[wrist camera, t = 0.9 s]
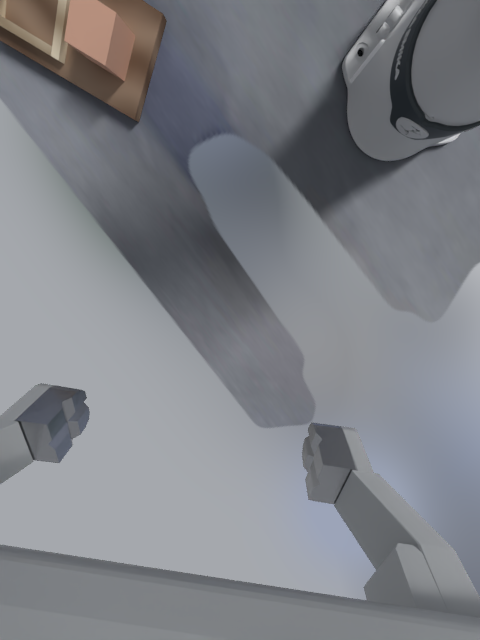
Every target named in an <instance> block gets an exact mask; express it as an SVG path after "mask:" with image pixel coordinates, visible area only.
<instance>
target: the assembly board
mask: <svg viewBox="0 0 480 640" xmlns="http://www.w3.org/2000/svg"><path fill="white" fill-rule="evenodd" d="M98 1H99V2H101V3H102V4H104V5H105V6H107V7H109V8H110V9H112V10H113V11H115V12H116V13H117V14H118V15H119V16H120V18H121V19H122V20H123V21H124V23H125V24H126V25H127V26H128V28H129V29H130V30H131V31H132V33H133V34H134V35H135V41H134V45H133V49H132V53H131V57H130V61H129V66H128V70H127V74H126V78H125V81H123V80H121V79H120V78H118V77H117V76H115V75H113V74H112V73H110V72H108V71H107V70H105V69H103V68H102V67H100V66H99V65H97V64H95V63H94V62H92V61H90V60H89V59H88V58H86V57H85V56H84V55H82V54H81V53H80V52H78V51H77V50H76V49H75V48H73V47H72V46H71V45H69V44H68V43H67V42H65V41H64V39H65V32H66V25H67V18H68V11H69V5H70V0H0V41H2V42H4V43H5V44H7V45H9V46H10V47H12V48H14V49H15V50H17V51H19V52H21V53H22V54H24V55H26V56H27V57H29V58H31V59H32V60H34V61H36V62H37V63H39V64H41V65H43V66H44V67H46V68H48V69H49V70H51V71H53V72H54V73H56V74H58V75H59V76H61V77H63V78H65V79H66V80H68V81H70V82H71V83H73V84H75V85H76V86H78V87H80V88H81V89H83V90H85V91H86V92H88V93H90V94H92V95H93V96H95V97H97V98H98V99H100V100H102V101H103V102H105V103H107V104H108V105H110V106H112V107H114V108H115V109H117V110H119V111H120V112H122V113H124V114H125V115H127V116H129V117H130V118H132V119H134V120H136V121H137V122H139V120H140V116H141V112H142V109H143V105H144V101H145V98H146V94H147V91H148V87H149V83H150V80H151V76H152V72H153V69H154V65H155V61H156V58H157V54H158V50H159V47H160V43H161V39H162V36H163V32H164V29H165V25H166V19H165V17H164V15H163V14H162V13H161V12H159V11H158V10H156V9H155V8H153V7H152V6H150V5H149V4H147V3H146V2H144V1H143V0H98Z"/></svg>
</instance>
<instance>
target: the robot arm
mask: <svg viewBox="0 0 480 640" xmlns="http://www.w3.org/2000/svg"><path fill="white" fill-rule="evenodd" d="M358 50H361V51H362V52H363V55H362V56H361V57H359V56H358V54H357V52H358ZM342 70H343V75H344V79H345V83H346V86H347V89H348V102H347V119H348V125H349V129H350V132H351V135H352V137H353V139H354V141H355V143H356V144H357V146H358V147H359V148H360V149H361V150H362V151H363V152H364V153H366V154H367V155H369V156H370V157H372V158H375V159H378V160H383V161H395V160H400V159H404V158H407V157H409V156H412V155H414V154H416V153H417V152H419V151H421V150H423V149H425V148H427V147H430V146H438V145H444V144H447V143H450V142H452V141H454V140H455V139H456V138H457V137H458V136H459V135H460V133H462V132H466V131H469V130H471V129H473V128H476V127H477V126H479V125H480V0H386V2H385V3H384V4H383V6H382V7H381V8H380V10H379V11H378V13H377V14H376V15H375V17H374V18H373V19H372V21H371V22H370V23H369V25H368V26H367V28H366V29H365V30H364V32H363V33H362V34H361V36H360V37H359V39H358V40H357V41H356V43H355V44H354V45H353V47H352V48H351V50H350V51H349V52H348V54H347V55H346V56H345V58H344V60H343V64H342ZM86 398H87V397H86V394H85V391H83V390H79V389H73V388H67V387H61V386H54V385H48V384H38V385H36V386H34V387H33V388H32V389H31V390H30V391H28V392H27V393H26V394H25V395H24V396H23V397H22V398H20V399H19V400H18V401H17V402H16V403H15V404H14V405H12V406H11V407H10V408H9V409H8V410H7V411H5V412H4V413H3V414H2V415H1V416H0V484H1V483H3V482H4V481H6V480H7V479H9V478H10V477H12V476H13V475H15V474H16V473H18V472H19V471H20V470H22V469H23V468H25V467H26V466H28V465H29V464H31V463H32V462H33V460H37V461H46V462H55V463H60V461H61V460H62V459H63V457H64V456H65V455H66V453H67V452H68V451H69V449H70V448H71V447H72V439H73V438H75V437H76V436H78V435H80V434H81V433H82V431H83V430H84V429H85V427H86V425H87V422H88V420H89V407H88V406H87V405H86V404H85V403H84V401H85V400H86ZM308 433H309V436H308V437H306V438H305V440H304V444H303V452H302V458H303V466H304V468H305V469H306V470H307V472H308V474H307V477H306V486H307V493H308V498H309V500H313V501H318V502H324V503H329V504H335V505H334V506H335V508H336V509H337V511H338V512H339V514H340V516H341V517H342V519H343V520H344V522H345V523H346V525H347V526H348V528H349V529H350V531H351V532H352V533H353V535H354V537H355V538H356V540H357V541H358V543H359V545H360V546H361V548H362V549H363V551H364V552H365V554H366V555H367V557H368V558H369V560H370V561H371V563H372V564H373V566H374V567H375V569H376V572H375V573H374V574H373V575H372V577H371V578H370V579H369V581H368V582H367V583H366V585H365V586H364V590H365V594H366V598H367V601H366V600H360V599H353V598H347V597H340V596H333V595H327V594H320V593H313V592H307V591H300V590H294V589H288V588H281V587H275V586H268V585H262V584H255V583H247V582H242V581H234V580H229V579H222V578H215V577H208V576H202V575H196V574H189V573H183V572H176V571H170V570H163V569H157V568H150V567H143V566H137V565H131V564H124V563H117V562H111V561H104V560H98V559H91V558H85V557H78V556H72V555H64V554H58V553H52V552H45V551H39V550H32V549H25V548H19V547H12V546H6V545H0V640H480V597H479V595H478V594H477V592H476V590H475V588H474V586H473V584H472V582H471V581H470V579H469V577H468V575H467V573H466V571H465V569H464V567H463V565H462V564H461V562H460V560H459V558H458V556H457V554H456V552H455V550H454V549H453V548H452V547H451V546H450V545H449V544H448V543H447V542H446V541H445V540H444V539H443V538H442V537H441V536H440V535H439V534H438V533H437V532H436V531H435V530H434V529H433V528H432V527H431V526H430V525H429V524H428V523H427V522H426V521H425V520H424V519H423V518H422V517H421V516H420V515H419V514H418V513H417V512H416V511H415V510H414V509H413V508H412V507H411V506H410V505H409V504H408V503H407V502H406V501H405V500H404V499H403V498H402V497H401V496H400V495H399V494H398V493H397V492H396V491H395V490H394V489H393V488H392V487H391V486H390V485H389V484H388V483H387V482H386V481H385V480H384V479H383V478H382V477H381V476H380V475H379V474H376V473H374V472H373V470H372V467H371V465H370V462H369V460H368V457H367V454H366V452H365V450H364V447H363V444H362V442H361V439H360V437H359V435H358V432H357V430H356V429H355V428H349V427H341V426H340V427H339V426H334V425H327V424H319V423H311V424H310V426H309V428H308Z"/></svg>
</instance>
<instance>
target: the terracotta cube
mask: <svg viewBox="0 0 480 640" xmlns="http://www.w3.org/2000/svg"><path fill="white" fill-rule="evenodd" d="M64 41H65V42H67V43H68V44H69V45H71V46H72V47H73V48H75V49H76V50H77V51H78V52H80V53H81V54H82V55H84V56H85V57H86V58H88V59H89V60H90V61H92V62H94V63H95V64H97V65H99V66H100V67H102V68H103V69H105V70H107V71H108V72H110V73H112V74H113V75H115V76H117V77H118V78H120V79H121V80H123V81H125V78H126V74H127V70H128V66H129V61H130V57H131V53H132V49H133V45H134V41H135V35H134V34H133V33H132V31H131V30H130V29H129V28H128V26H127V25H126V24H125V23H124V21H123V20H122V19H121V18H120V16H119V15H118V14H117V13H116V12H115V11H113V10H112V9H110V8H109V7H107V6H105V5H104V4H102V3H101V2H99V1H98V0H70V5H69V11H68V18H67V25H66V32H65V39H64Z"/></svg>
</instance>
